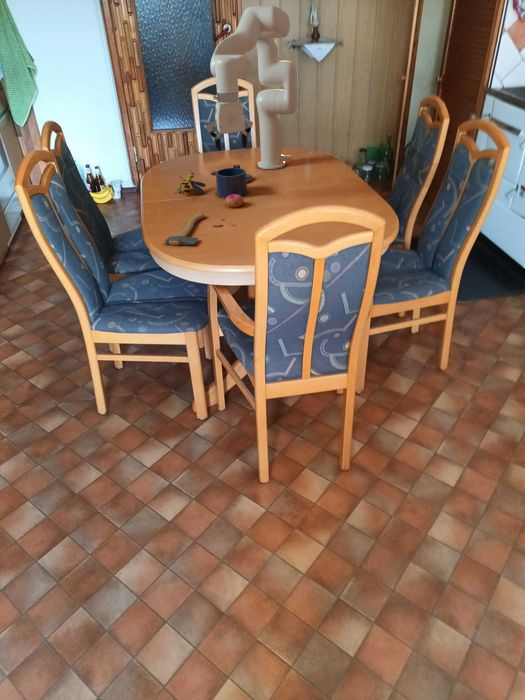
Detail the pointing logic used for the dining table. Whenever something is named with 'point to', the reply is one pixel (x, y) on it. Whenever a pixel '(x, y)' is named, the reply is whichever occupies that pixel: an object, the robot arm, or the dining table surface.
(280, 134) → the robot arm
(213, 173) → the pot
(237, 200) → the donut
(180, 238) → the hand axe
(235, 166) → the pot lid
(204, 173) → the dining table surface
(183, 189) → the toy
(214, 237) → the dining table surface
